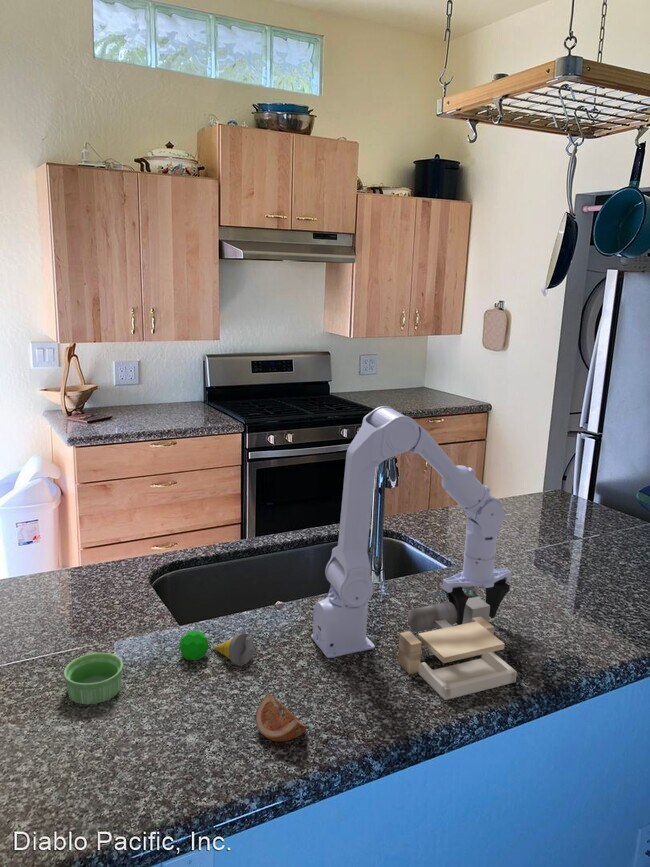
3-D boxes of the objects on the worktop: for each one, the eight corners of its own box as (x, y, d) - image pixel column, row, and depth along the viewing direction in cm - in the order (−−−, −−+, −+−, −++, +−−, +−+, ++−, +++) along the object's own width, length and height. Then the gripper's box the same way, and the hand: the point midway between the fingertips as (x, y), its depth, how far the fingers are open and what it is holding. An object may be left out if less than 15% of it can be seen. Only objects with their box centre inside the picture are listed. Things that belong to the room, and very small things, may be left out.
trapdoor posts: (397, 664, 120) (399, 633, 119) (478, 645, 127) (480, 616, 125) (409, 676, 116) (411, 644, 115) (491, 657, 123) (494, 626, 122)
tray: (444, 703, 109) (445, 689, 109) (418, 676, 117) (419, 663, 116) (515, 684, 115) (516, 671, 114) (486, 660, 122) (487, 647, 122)
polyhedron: (177, 653, 121) (176, 628, 120) (204, 648, 123) (204, 624, 122) (183, 668, 117) (182, 643, 116) (211, 662, 119) (211, 637, 118)
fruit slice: (315, 744, 99) (316, 714, 98) (275, 762, 95) (276, 731, 94) (285, 713, 106) (286, 685, 105) (247, 729, 102) (247, 699, 101)
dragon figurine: (446, 613, 147) (481, 613, 142) (430, 608, 142) (465, 608, 137) (447, 582, 149) (481, 582, 145) (431, 576, 144) (466, 575, 139)
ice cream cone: (249, 629, 116) (207, 628, 122) (242, 662, 114) (199, 659, 119) (269, 639, 120) (227, 637, 125) (262, 670, 117) (219, 667, 123)
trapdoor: (397, 627, 125) (398, 607, 124) (453, 616, 129) (454, 596, 128) (443, 671, 111) (444, 649, 110) (503, 657, 116) (505, 635, 115)
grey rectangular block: (470, 633, 131) (472, 609, 130) (458, 623, 135) (460, 599, 134) (487, 629, 133) (490, 605, 132) (475, 619, 136) (477, 596, 135)
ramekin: (103, 669, 116) (102, 646, 115) (135, 690, 111) (134, 666, 110) (54, 693, 109) (52, 668, 108) (85, 717, 104) (84, 691, 103)
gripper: (459, 568, 124) (454, 635, 127) (524, 556, 130) (517, 622, 133) (438, 553, 130) (433, 618, 133) (500, 543, 136) (494, 605, 139)
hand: (473, 619), depth 134 cm, fingers open, 7 cm apart
